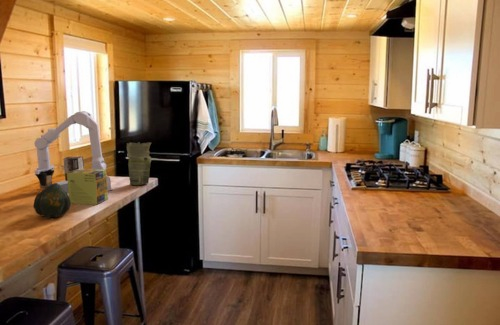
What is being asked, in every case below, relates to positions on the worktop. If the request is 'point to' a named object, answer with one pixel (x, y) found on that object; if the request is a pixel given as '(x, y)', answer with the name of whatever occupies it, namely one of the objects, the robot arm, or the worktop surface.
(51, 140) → the robot arm
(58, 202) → the squash
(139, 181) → the pouch
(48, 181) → the walnut block
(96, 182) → the protein box
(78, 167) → the coffee box
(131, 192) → the worktop surface
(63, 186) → the base block
